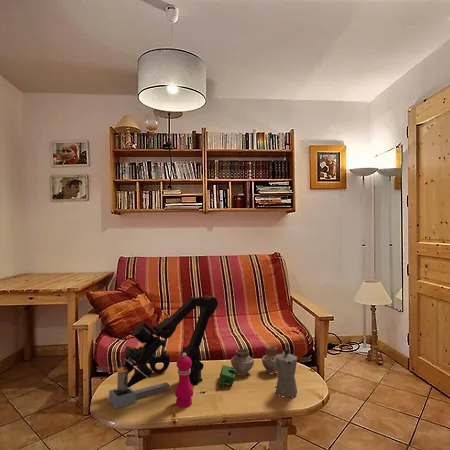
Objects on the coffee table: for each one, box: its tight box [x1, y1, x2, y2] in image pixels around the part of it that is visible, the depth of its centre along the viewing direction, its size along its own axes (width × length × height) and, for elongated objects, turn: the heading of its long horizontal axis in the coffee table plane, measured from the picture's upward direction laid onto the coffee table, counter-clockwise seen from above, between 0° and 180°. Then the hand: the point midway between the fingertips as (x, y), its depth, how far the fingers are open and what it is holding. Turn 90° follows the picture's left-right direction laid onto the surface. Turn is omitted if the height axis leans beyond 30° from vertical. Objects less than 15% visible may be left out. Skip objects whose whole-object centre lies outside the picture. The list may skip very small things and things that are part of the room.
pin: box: [116, 366, 129, 396], centre depth 142 cm, size 4×4×13 cm
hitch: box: [108, 381, 170, 409], centre depth 146 cm, size 24×8×4 cm, turn 126°
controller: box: [147, 350, 171, 374], centre depth 171 cm, size 4×12×10 cm, turn 103°
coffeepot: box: [275, 349, 298, 398], centre depth 150 cm, size 15×9×18 cm, turn 2°
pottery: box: [230, 345, 278, 376], centre depth 171 cm, size 11×25×12 cm, turn 95°
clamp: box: [218, 364, 236, 387], centre depth 160 cm, size 12×6×9 cm, turn 173°
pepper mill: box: [174, 353, 194, 408], centre depth 140 cm, size 7×7×20 cm
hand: (123, 382), depth 142 cm, fingers open, 9 cm apart
